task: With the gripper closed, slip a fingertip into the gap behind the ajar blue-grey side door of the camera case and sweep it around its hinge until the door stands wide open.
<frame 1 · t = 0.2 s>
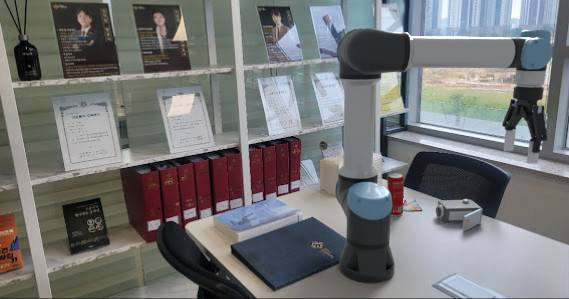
hand: (519, 156, 128), 27 cm above the table, fingers open, 13 cm apart
beverage can: (394, 214, 156), on the table
side door: (473, 219, 144), point 3 cm above the table, hinge at 35.0°
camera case: (457, 218, 152), on the table
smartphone: (407, 205, 166), on the table
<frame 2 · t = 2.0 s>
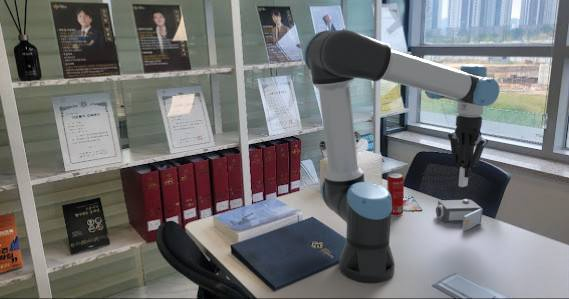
hand: (462, 185, 141), 15 cm above the table, fingers closed
nothing on the table moved.
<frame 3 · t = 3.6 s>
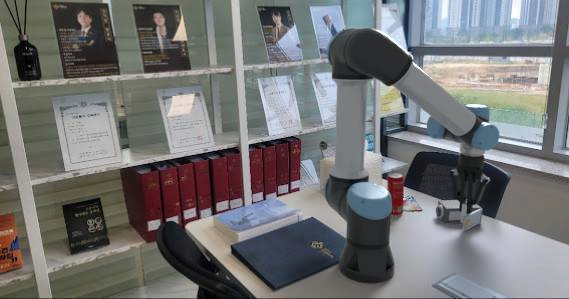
hand: (464, 221, 143), 3 cm above the table, fingers closed
side door: (473, 219, 144), point 3 cm above the table, hinge at 35.2°, touching gripper
everything else where it was.
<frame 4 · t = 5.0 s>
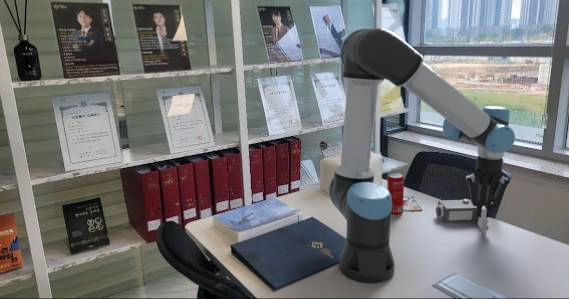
hand: (481, 226, 139), 3 cm above the table, fingers closed
side door: (483, 221, 142), point 3 cm above the table, hinge at 72.2°, touching gripper
everything else where it was.
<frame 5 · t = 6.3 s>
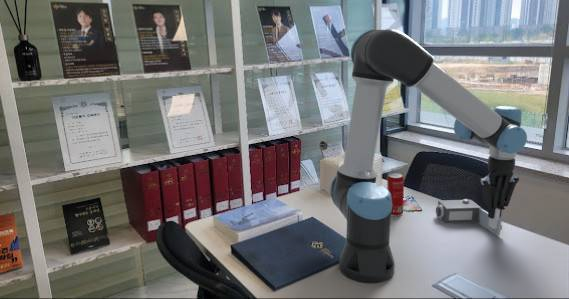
hand: (493, 226, 139), 3 cm above the table, fingers closed
side door: (489, 221, 142), point 3 cm above the table, hinge at 97.1°, touching gripper
everything else where it was.
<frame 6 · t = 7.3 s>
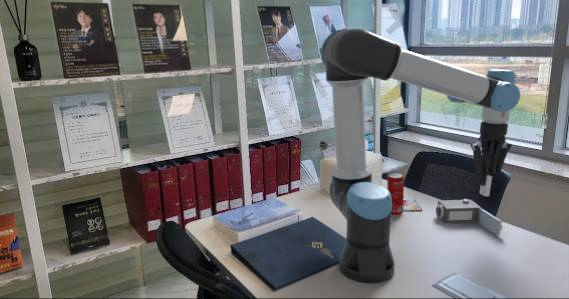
hand: (484, 194, 136), 14 cm above the table, fingers closed
side door: (489, 221, 142), point 3 cm above the table, hinge at 97.1°
everything else where it was.
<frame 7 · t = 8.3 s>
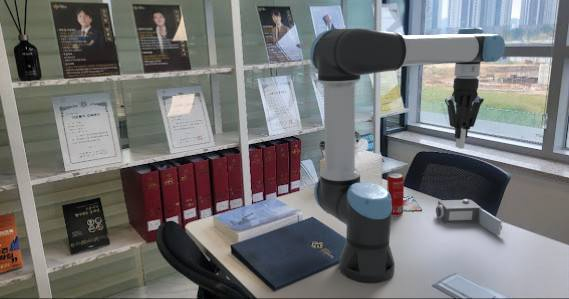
hand: (459, 147, 145), 26 cm above the table, fingers closed
nothing on the table moved.
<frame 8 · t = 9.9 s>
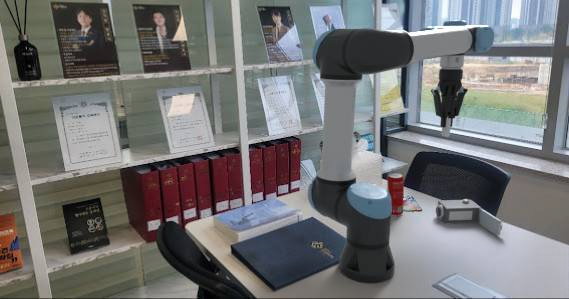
hand: (445, 136, 151), 28 cm above the table, fingers closed
nothing on the table moved.
at the end: side door at +97° (first picture: +35°); side door touching nothing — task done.
